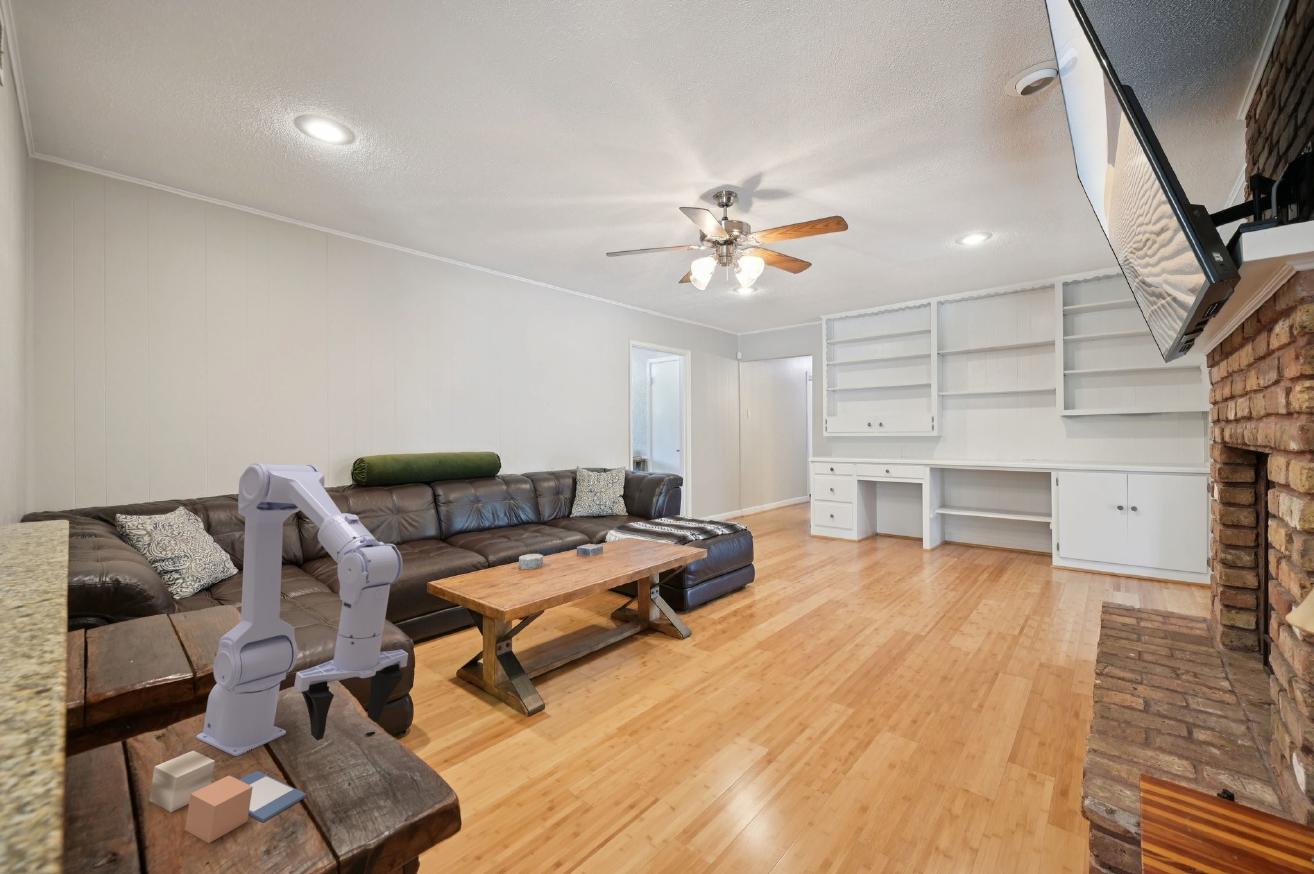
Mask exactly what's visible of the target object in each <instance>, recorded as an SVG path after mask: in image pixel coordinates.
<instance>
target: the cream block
mask: <svg viewBox="0 0 1314 874" xmlns="http://www.w3.org/2000/svg"><path fill="white" fill-rule="evenodd" d="M215 762H216V761H215V760H214V759H212V758H210V757H208V756H205V754H204V755H203V754H202V753H200V752H197V751H195V750H192V751H188V752H186V753H184V754H181V755H179V756H177V757H175V758H172V759H169V760H167V761H165V762H162V763H160V764H158V765H155V766H154V769H153V774H152V781H151V786H150V794H149V799H148V800H149V802H151V803H152V804H155V805H157V806H159V807H160V808H162V809H163V810H166V811H167V812H170V813H172V812H175V811H177V810H179V809H182V808H183V807H185V806H187V805H189V801H190V794H191V793H193V792H195V791H197V790H200V789H202V788H204V787H206V786H208V785H210V784H212V783H213V782H212V781H213V773H214V767H215Z"/></svg>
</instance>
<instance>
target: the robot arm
mask: <svg viewBox="0 0 1314 874" xmlns="http://www.w3.org/2000/svg"><path fill="white" fill-rule="evenodd" d="M237 506H238V508H237V509H238V510H237V511H238V515H240V516H242V517H244V518H245V521H244V540H243V541H244V543H243V566H242V567H243V569H242V586H241V587H242V590H241V609H240V610H241V612H240V613H241V614H240V622H238V623H237V624H236V625H235V626H234V627H233V628H232V629H230V630H228V632H226V633H225V634H224V635H223V636H221V637H220V638H219V641H218V642H219V643H218V649H217V653H216V656H215V658H214V661H213V667H212V669H213V672H212V673H213V677H214V680H215V683H216V684H215V685H214V686H213V688H212V689H211V690H210V693H209V695H208V699H207V704H206V711H205V719H204V725H203V731H202V732H201V733H198V734H197V735H196V739H197V740H199V741H201V742H203V743H205V744H207V745H210V746H212V747H213V748H216V749H219V750H220V751H222V752H225V753H227V754H229V755H232V756H234V757H238V756H241V755H242V754H243V755H244V754H245V753H248V752H249V750H250V751H252V750H255V749H256V748H258V747H260V746H263V745H265V744H268V743H270V742H272V741H274V740H277V739H278V738H281V737H283V736H285V735H286V734H287V733H286V732H287V731H286V729H285V730H284V729H283V728H280V727H278V726H275V721H276V720H275V719H276V714H277V713H276V712H277V706H278V700H279V692H280V686H281V681H284V680H286V678H287V673H289V672H291V671H292V670H293V669H294V667H295V665H296V664H297V660H298V655H299V651H298V644H297V641H296V636H295V627H294V626H292V625H291V624H290V623H288V622H286V621H284V620H283V619H282V618H280V614H281V594H282V593H281V592H282V591H281V590H282V588H281V587H282V567H283V566H282V563H283V561H282V559H283V535H284V534H283V532H284V522H285V521H286V520H287V519H288V518H289V517H290V516H291V515H293V514H295V513H298V512H299V511H301V513H303V514H305V516H306V517H307V518H308V519H309V520H310V521H312V523H313V524H315V526H317V528H318V532H317V541H318V542H319V543H320V544H321V545H322V546H323V548H324V549H325V550H326V551H327V553H328V554H329V555H330V556H331V558H332V559H333V560H334V561H335V563H337V577H338V578H337V579H338V582H339V593H338V594H339V595H338V596H339V599H340V600H341V601H342V604H341V610H340V617H339V623H338V629H337V634H336V635H337V636H336V642H335V649H334V655H333V659H331V660H329V661H326V662H324V663H321V664H318V665H316V666H313V667H310V668H307V669H305V670H300V671H296V672H295V681H294V688H295V689H296V690H298V692H300V693H301V694H302V697H303V699H304V701H305V704H306V708H307V712H308V717H309V723H310V735H311V737H313V738H314V739H315V740H316V741H319V740H323V738H324V736H325V732H326V726H327V719H328V714H329V711H330V706H331V704H332V701H333V699H334V697H335V694H334V693H332V691H330V686H328V684H330V683H333V682H338V681H341V680H346V679H349V678H350V679H351V678H360V679H366V678H370V695H369V700H368V706H367V707H368V708H367V718H369V719H370V720H371V721H372V722H373V723H378V722H379V721H380V719H381V716H382V714H383V712H384V709H385V707H386V705H387V703H388V702H389V701H388V700H389V699H390V696H391V695H392V694H393V693H394V690H395V689H396V687H397V686H398V685H399V683H401V681H402V680H403V675H404V672H403V671H402V670H401V669H400V668H404V667H407V665H408V657H409V653H408V652H406V651H405V650H404V649H398V650H390V651H389V650H388V651H381V647H382V641H383V635H384V630H385V629H384V628H385V622H386V617H387V616H386V615H387V608H388V604H389V596H390V589H391V585H392V584H394V583H396V582H397V581H398V580H399V578H400V577H401V574H402V572H403V565H404V564H403V558H402V555H401V552H400V551H399V550H398V548H397V546H396V545H395V544H393V543H384V542H383V541H378V540H377V538H375V536H374V535H373V534H372V533H371V532H370V531H369V530H368V528H366V526H365V525H364V524H363V523H362V522H361V521H360V518H359V517H358V515H356V514H352V513H348V512H347V513H346V512H344V513H342V512H341V510H340V509H339V507H338V506H337V505H336V503H335V502H334V501H333V499H332V498H331V496H330V495H329V493H328V492H327V491H326V489H325V474H323V473H322V472H321V471H320V469H319V468H318V466H316V465H313V464H306V465H297V464H296V465H295V464H276V463H275V464H272V463H270V464H269V463H260V462H253V463H251V464H249V466H247V468H246V469H245V471H244V472H243V473H242V474H241V476H240V478H239V480H238V499H237ZM251 749H252V750H251ZM247 751H248V752H247Z"/></svg>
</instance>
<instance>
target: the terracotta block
mask: <svg viewBox="0 0 1314 874" xmlns="http://www.w3.org/2000/svg"><path fill="white" fill-rule="evenodd" d="M252 788H253V787H252V786H250V785H248V784H246V783H244V782H242V781H240V780H239V779H237V778H236V777H234V776H232V775H230V774H229V775H227V776H225V777H222V778H221V779H218V780H216V781H214V782H211V784H210V785H208V786H206V787H204V788H202V789H200V790H197V791H195V792H193V793H191V794H190V801H189V804H188V808H187V813H186V821H185V826H184V827H185V828H184V831H186V832H188V833H190V834H192V835H194V836H195V837H197V838H198V839H200V840H202V841H203V842H206V843H208V844H210V843H212V842H214V841H215V840H217V839H219V838H221V837H223V836H224V835H226V834H228V833H229V832H232V831H233V830H235V829H236V828H239V827H240V826H241V825H243V824H245V823H247V822H248V820H249V815H248V814H249V808H250V801H251V795H252Z"/></svg>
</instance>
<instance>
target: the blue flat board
mask: <svg viewBox="0 0 1314 874" xmlns="http://www.w3.org/2000/svg"><path fill="white" fill-rule="evenodd" d="M238 780H240V781H242V782H244V783H246V784H248V785H250V786H252V787H253V788H252V795H251V801H250V808H249V814H248V817H252V818H254V819H256V820H257V821H260V822H261V823H264V822H266V821H268V820H269V819H271V818H273V817H274V816H276V815H278V814H279V813H281V812H283V811H284V810H287V809H288V808H290V807H292V806H294V805H295V804H296V803H298V802H300V801H301V800H303V799H305V798H307V793H306V792H303V791H301V790H300V789H297V788H294V787H293V786H290V785H288V784H287V783H284V782H282V781H280V780H278V779H276V778H273V777H271V776H270V775H268V774H265V773H263V772H261V771H258V770H255V771H253V772H251V773H249V774H248V775H245V776H244V777H241V778H239V779H238Z"/></svg>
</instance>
